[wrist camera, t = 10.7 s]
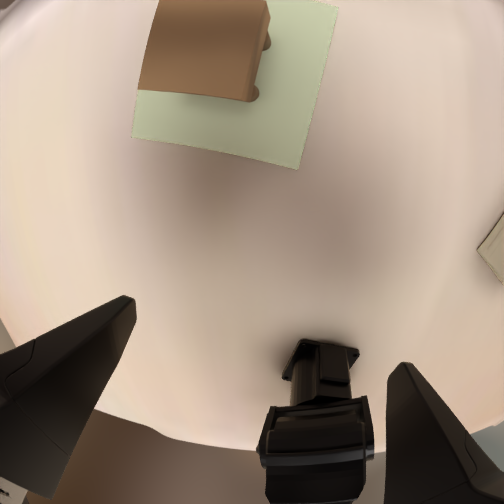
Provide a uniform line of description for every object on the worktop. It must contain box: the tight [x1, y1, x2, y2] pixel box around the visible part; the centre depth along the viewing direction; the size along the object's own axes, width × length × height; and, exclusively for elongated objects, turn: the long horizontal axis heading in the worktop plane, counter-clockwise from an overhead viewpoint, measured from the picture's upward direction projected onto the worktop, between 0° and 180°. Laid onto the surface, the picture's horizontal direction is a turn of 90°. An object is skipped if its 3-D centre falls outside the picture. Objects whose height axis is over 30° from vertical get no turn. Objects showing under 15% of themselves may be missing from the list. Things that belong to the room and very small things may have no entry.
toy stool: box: [138, 0, 271, 103], centre depth 12 cm, size 5×5×6 cm
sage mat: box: [131, 0, 338, 170], centre depth 15 cm, size 12×12×1 cm
